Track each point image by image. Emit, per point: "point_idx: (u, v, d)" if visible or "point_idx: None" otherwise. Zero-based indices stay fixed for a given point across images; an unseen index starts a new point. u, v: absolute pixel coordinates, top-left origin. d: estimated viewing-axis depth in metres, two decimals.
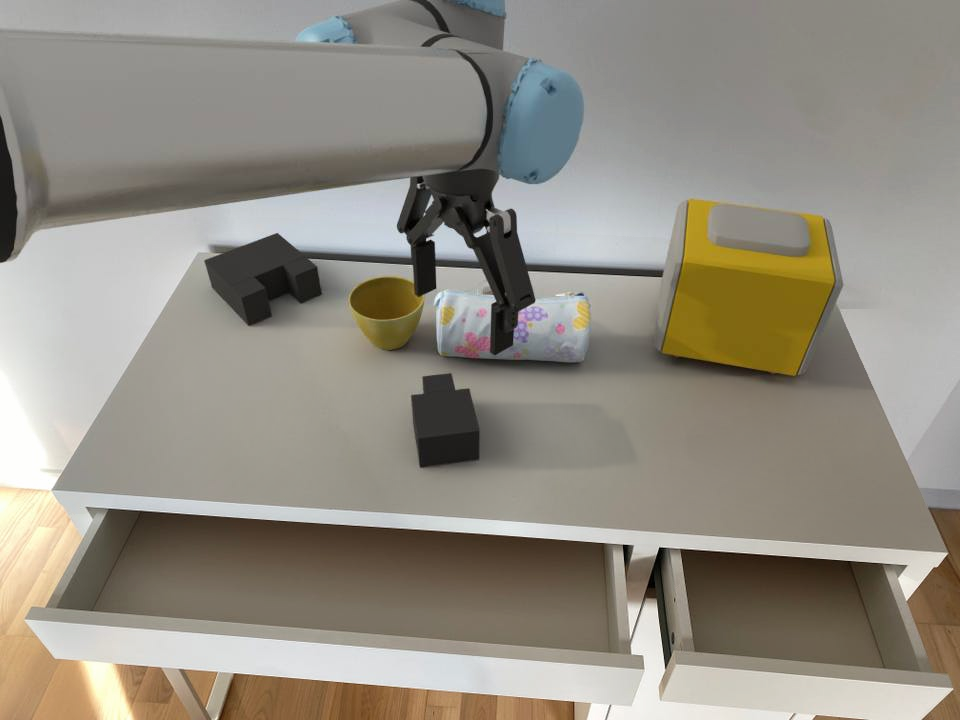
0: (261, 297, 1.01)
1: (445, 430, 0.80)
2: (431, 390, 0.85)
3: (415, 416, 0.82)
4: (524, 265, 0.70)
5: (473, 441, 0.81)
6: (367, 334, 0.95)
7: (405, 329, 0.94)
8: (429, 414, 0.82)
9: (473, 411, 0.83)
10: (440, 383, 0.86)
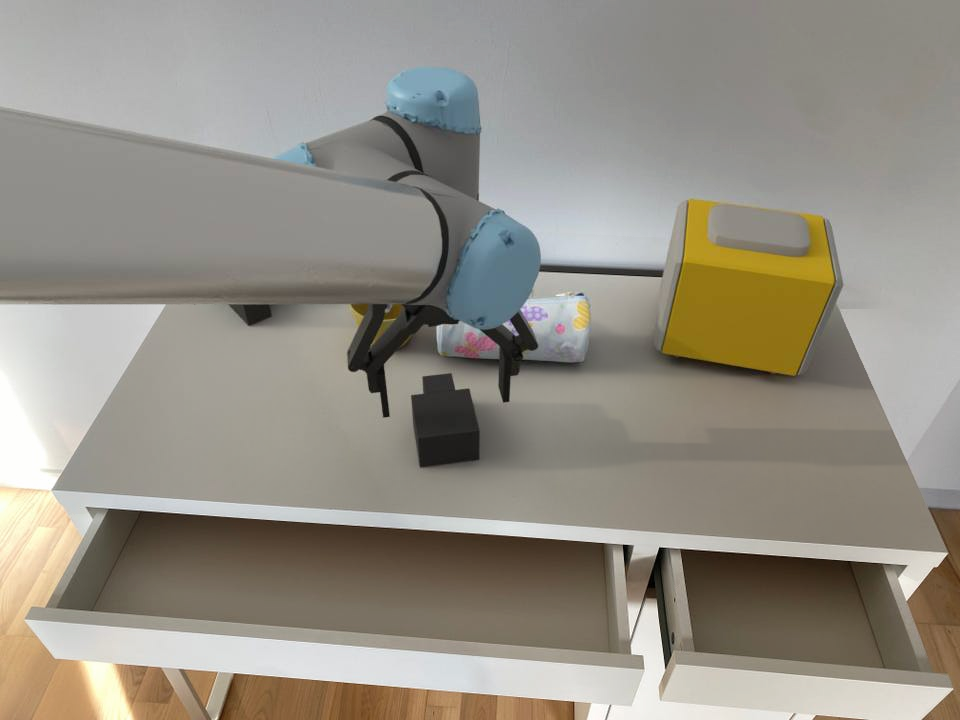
0: None
1: (445, 430, 0.80)
2: (431, 390, 0.85)
3: (415, 416, 0.82)
4: None
5: (473, 441, 0.81)
6: None
7: None
8: (429, 414, 0.82)
9: (473, 411, 0.83)
10: (440, 383, 0.86)
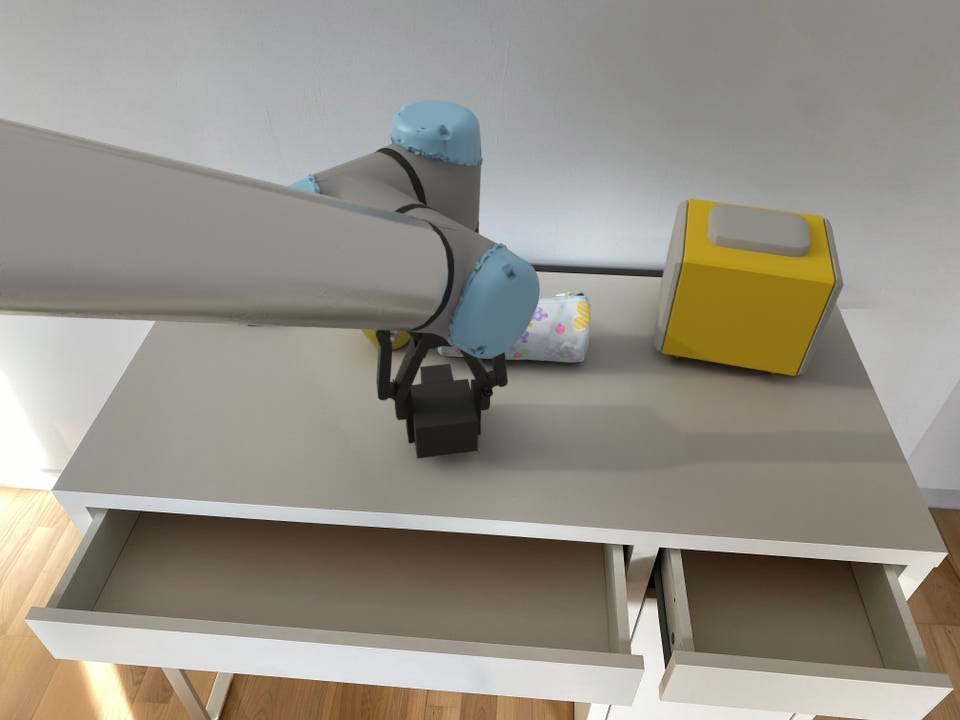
0: None
1: (443, 420, 0.79)
2: (429, 381, 0.84)
3: (413, 406, 0.81)
4: None
5: (471, 431, 0.80)
6: (367, 334, 0.95)
7: None
8: (427, 405, 0.81)
9: (472, 401, 0.81)
10: (438, 373, 0.85)
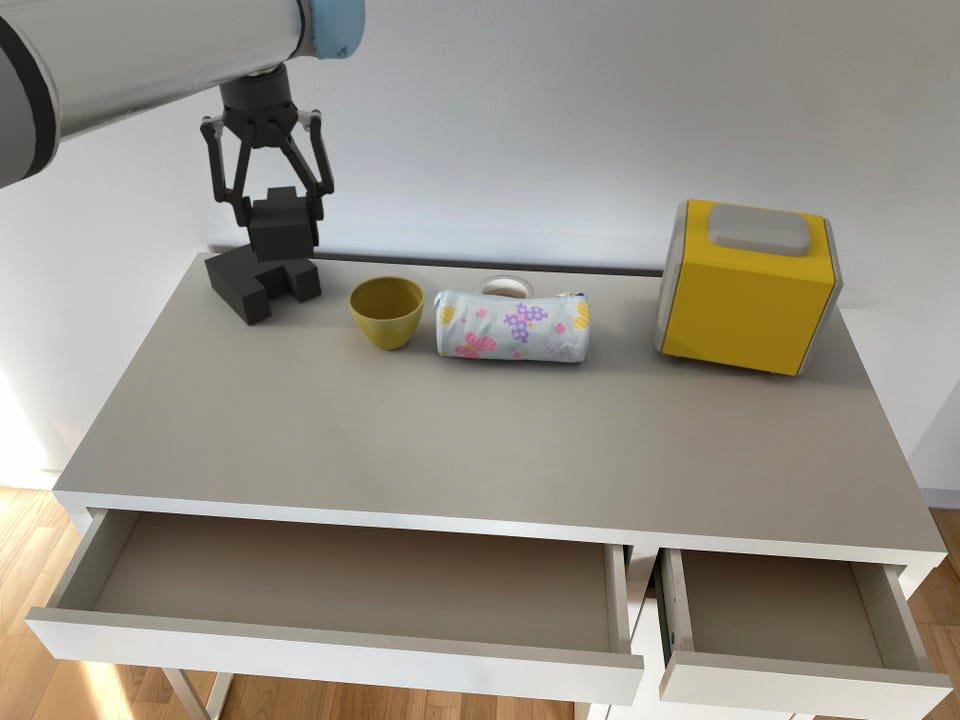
0: (261, 297, 1.01)
1: (276, 223, 0.88)
2: (272, 197, 0.93)
3: (252, 214, 0.90)
4: (326, 154, 0.88)
5: (303, 235, 0.89)
6: (367, 334, 0.95)
7: (405, 329, 0.94)
8: (265, 213, 0.90)
9: (306, 211, 0.90)
10: (282, 192, 0.94)
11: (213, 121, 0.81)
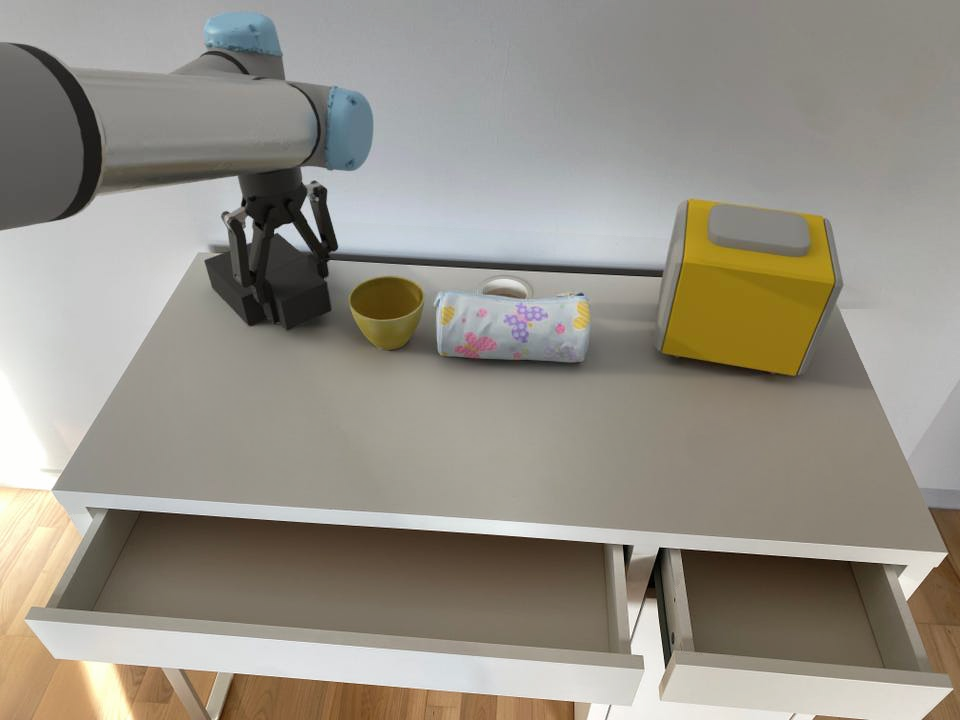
0: None
1: (299, 290, 0.96)
2: (271, 270, 0.99)
3: None
4: None
5: (323, 293, 0.98)
6: (367, 334, 0.95)
7: (405, 329, 0.94)
8: (280, 285, 0.97)
9: (314, 272, 0.99)
10: (275, 263, 1.00)
11: (237, 214, 0.87)
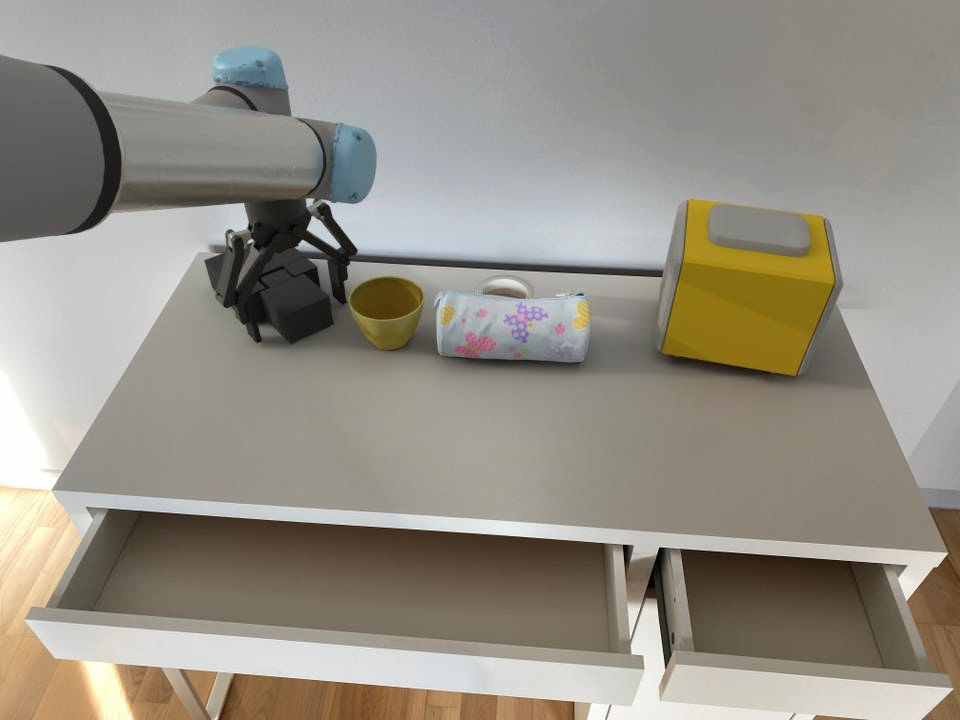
0: None
1: (302, 304, 0.97)
2: (274, 284, 1.01)
3: (272, 303, 0.98)
4: None
5: (326, 307, 1.00)
6: (367, 334, 0.95)
7: (405, 329, 0.94)
8: (283, 299, 0.98)
9: (317, 286, 1.01)
10: (278, 277, 1.02)
11: (243, 234, 0.89)
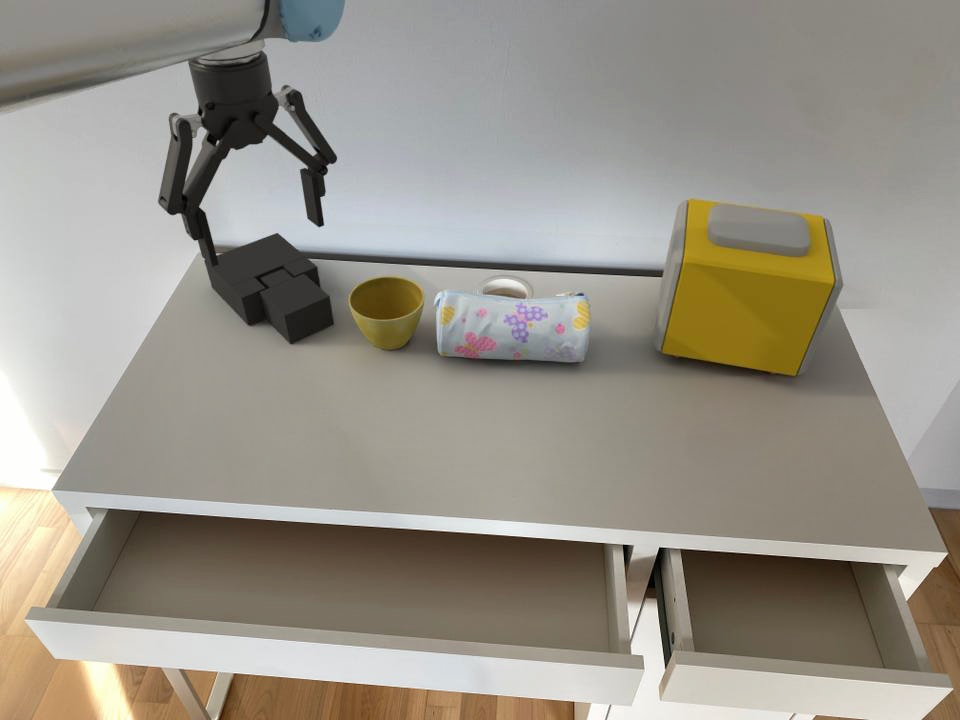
0: None
1: (302, 304, 0.97)
2: (274, 284, 1.01)
3: (272, 303, 0.98)
4: None
5: (326, 307, 1.00)
6: (367, 334, 0.95)
7: (405, 329, 0.94)
8: (283, 299, 0.98)
9: (317, 286, 1.01)
10: (278, 277, 1.02)
11: (191, 118, 0.71)
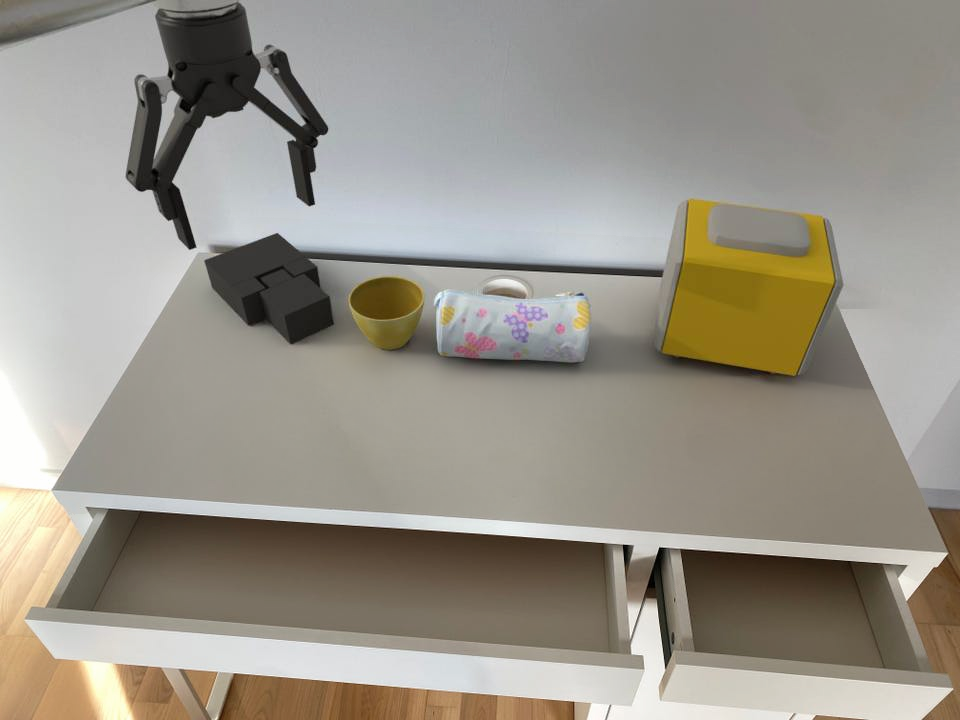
0: None
1: (302, 304, 0.97)
2: (274, 284, 1.01)
3: (272, 303, 0.98)
4: None
5: (326, 307, 1.00)
6: (367, 334, 0.95)
7: (405, 329, 0.94)
8: (283, 299, 0.98)
9: (317, 286, 1.01)
10: (278, 277, 1.02)
11: (160, 81, 0.62)
